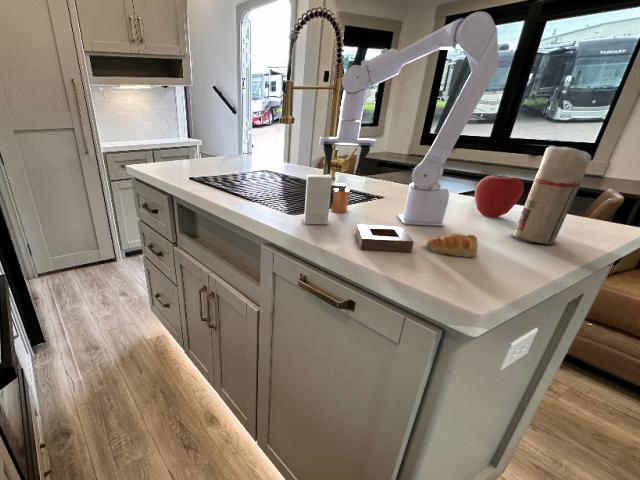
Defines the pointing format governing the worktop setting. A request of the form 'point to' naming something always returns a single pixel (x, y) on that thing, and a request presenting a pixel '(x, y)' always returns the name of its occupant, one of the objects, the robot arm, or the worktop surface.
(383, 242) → the holder
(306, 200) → the cosmetic box
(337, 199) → the bottle
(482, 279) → the worktop surface
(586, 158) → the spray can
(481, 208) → the apple
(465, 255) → the pastry
